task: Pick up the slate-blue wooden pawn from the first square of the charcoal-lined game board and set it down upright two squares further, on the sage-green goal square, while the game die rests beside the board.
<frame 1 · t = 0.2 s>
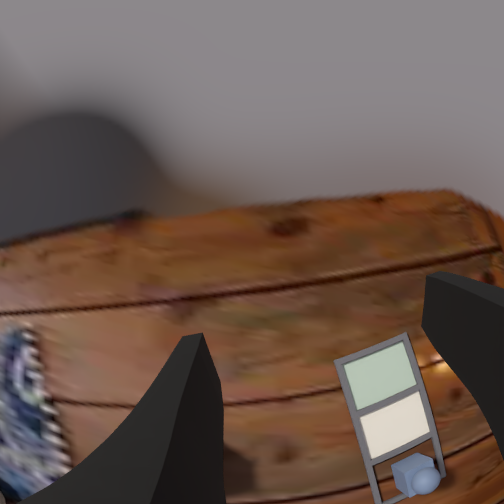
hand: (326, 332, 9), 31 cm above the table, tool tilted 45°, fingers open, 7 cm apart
pawn: (406, 470, 29), resting in game board
game board: (395, 425, 32), on the table
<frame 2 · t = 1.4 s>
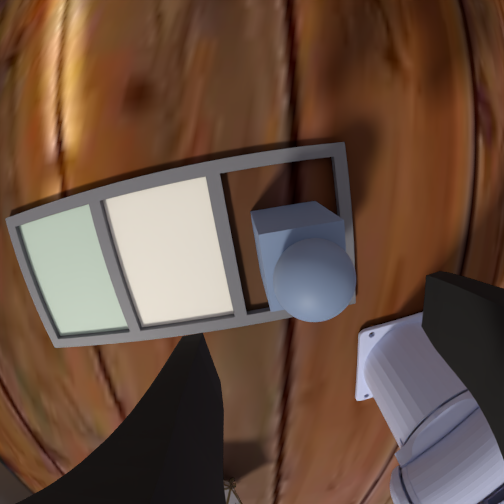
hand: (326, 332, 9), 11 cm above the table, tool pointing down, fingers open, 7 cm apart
pawn: (287, 237, 19), resting in game board
game die: (207, 474, 28), on the table
game board: (168, 258, 19), on the table
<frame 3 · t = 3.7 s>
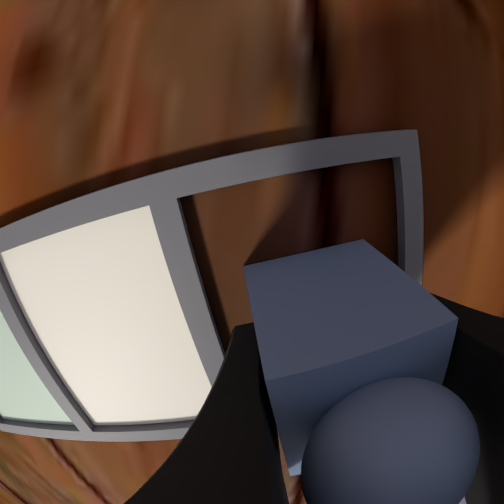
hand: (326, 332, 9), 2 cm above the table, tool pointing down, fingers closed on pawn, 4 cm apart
pawn: (312, 305, 10), resting in game board, touching gripper
game board: (109, 345, 10), on the table
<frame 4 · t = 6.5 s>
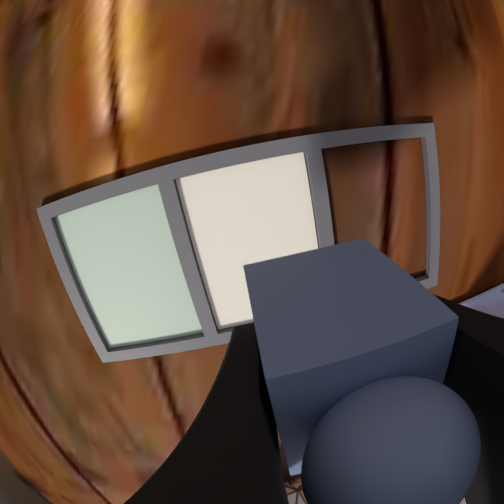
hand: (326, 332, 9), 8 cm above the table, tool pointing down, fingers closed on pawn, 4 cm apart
pawn: (312, 304, 10), point 7 cm above the table, touching gripper
game die: (265, 478, 26), on the table
game board: (257, 247, 17), on the table
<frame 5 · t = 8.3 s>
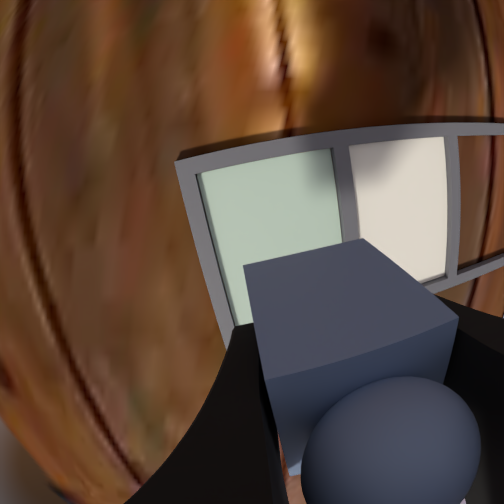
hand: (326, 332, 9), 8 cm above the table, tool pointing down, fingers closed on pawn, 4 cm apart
pawn: (312, 304, 10), point 6 cm above the table, touching gripper
game board: (405, 219, 16), on the table
when the fingers open (3 cm above the table, at t = 9.7 s): pawn stays where it is, resting on game board.
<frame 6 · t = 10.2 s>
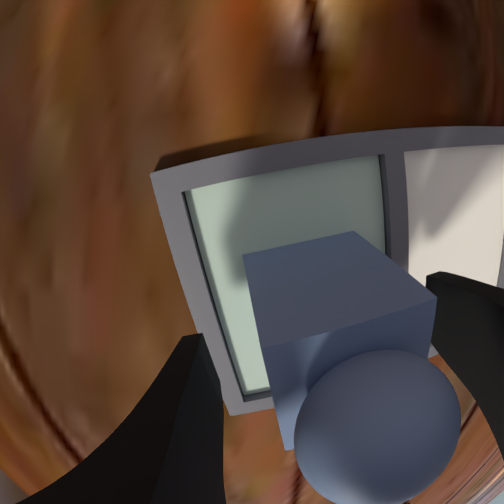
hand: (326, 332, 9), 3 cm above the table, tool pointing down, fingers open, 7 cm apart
pawn: (306, 292, 11), resting on game board
game board: (460, 249, 11), on the table
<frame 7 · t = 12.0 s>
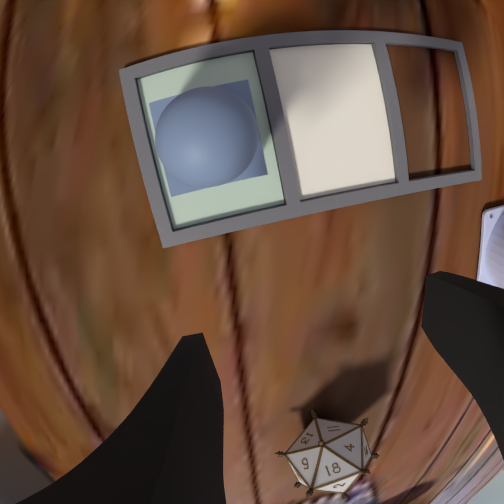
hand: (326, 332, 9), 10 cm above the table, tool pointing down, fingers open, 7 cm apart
pawn: (211, 138, 16), resting on game board
game die: (318, 423, 26), on the table
game board: (338, 116, 16), on the table
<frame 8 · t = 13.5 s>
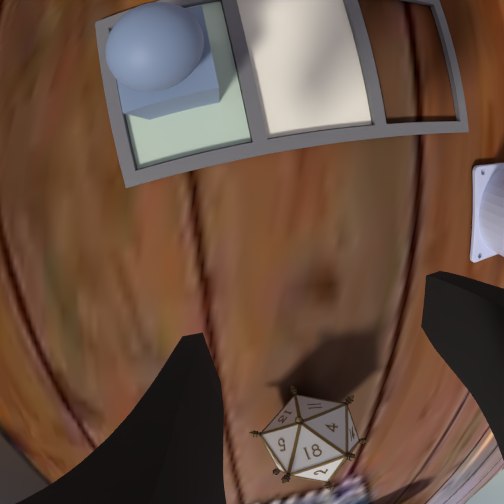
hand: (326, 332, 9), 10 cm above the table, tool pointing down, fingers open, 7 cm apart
pawn: (177, 78, 15), resting on game board
game die: (300, 403, 25), on the table
game board: (306, 57, 15), on the table
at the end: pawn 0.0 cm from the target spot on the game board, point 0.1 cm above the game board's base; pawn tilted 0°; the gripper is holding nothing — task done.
